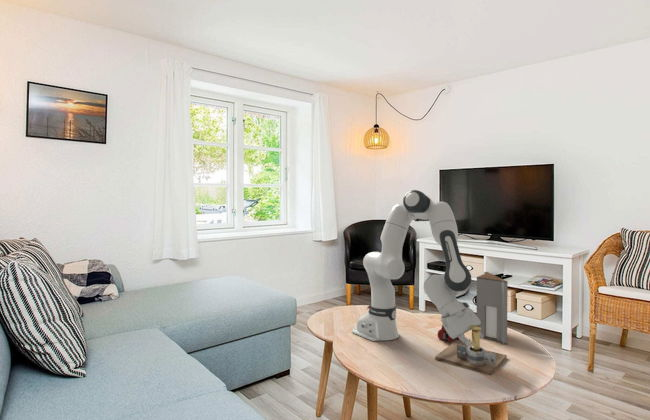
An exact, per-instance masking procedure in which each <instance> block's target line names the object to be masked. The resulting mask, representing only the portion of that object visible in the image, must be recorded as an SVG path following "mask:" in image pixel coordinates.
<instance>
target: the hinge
mask: <svg viewBox="0 0 650 420" xmlns="http://www.w3.org/2000/svg"><path fill="white" fill-rule="evenodd" d="M485 350H486V349H484V347H481V346H480V352H475V351H472V345H469V347H466V346H462V345H457V357H458V358H462V359H465V360H467V362H468V363H469V364H473V365H483V364H484V365H488V366H492V367H495V361H496V354H495V353H490V352H486V351H485Z"/></svg>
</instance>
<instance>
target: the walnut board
mask: <svg viewBox="0 0 650 420" xmlns="http://www.w3.org/2000/svg"><path fill="white" fill-rule="evenodd" d="M457 345H462V346H466V347H469V346H470V345H469V346H467V345H466V344H462V343H457V342H451V344H450V345H448V346H447V347H446V348H444V349H443V350H441V351H440V352H439V353H437V354H436V355H435V356H434V360H435V361H440V362H443V363H447V364H452V365H454V366H457V367H461V368H463V369H464V368H465V369H468V370H471V371H476V372H479V373H483V374H486V375H489V376H492V375H493V374H494V373H495V371H496V370H498V369H499V368H500V366H501V365H502V364H503V363H504V362H505V360H507V359H508V355H506V354H503V353H499V352H494V351H491V350H487V349H484V350H485V351H486V352H490V353H495V354H496V361H495V367H492V366H488V365H484V364H483V365H473V364H469V363H468V362H467V360H465V359H462V358H458V357H457Z"/></svg>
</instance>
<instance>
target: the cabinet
mask: <svg viewBox="0 0 650 420" xmlns="http://www.w3.org/2000/svg"><path fill="white" fill-rule="evenodd" d="M508 284H509V283H508V281H507V280H505V279H503V278H501V277H499V276H497V275H495V274H493V273H491V272H489V271H484V273H483V274H481V275H479V276H476V315H477V317H478V318H479V319H480V322H481V324H480V325H479V326H481V331H480V332H481V334H482V335H483V338H482V339H485V340H489V341H494V342H499V343H500V344H502V345H505V346H506V345H508Z"/></svg>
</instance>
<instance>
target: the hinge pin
mask: <svg viewBox="0 0 650 420" xmlns="http://www.w3.org/2000/svg"><path fill="white" fill-rule="evenodd" d="M470 329H471V330H470V331H471V342H472V344H471V346H472V351H475V352H480V347H481V345H480V344H481V342H480V341H481V339H480V331H481V326H479V325H471V326H470Z"/></svg>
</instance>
